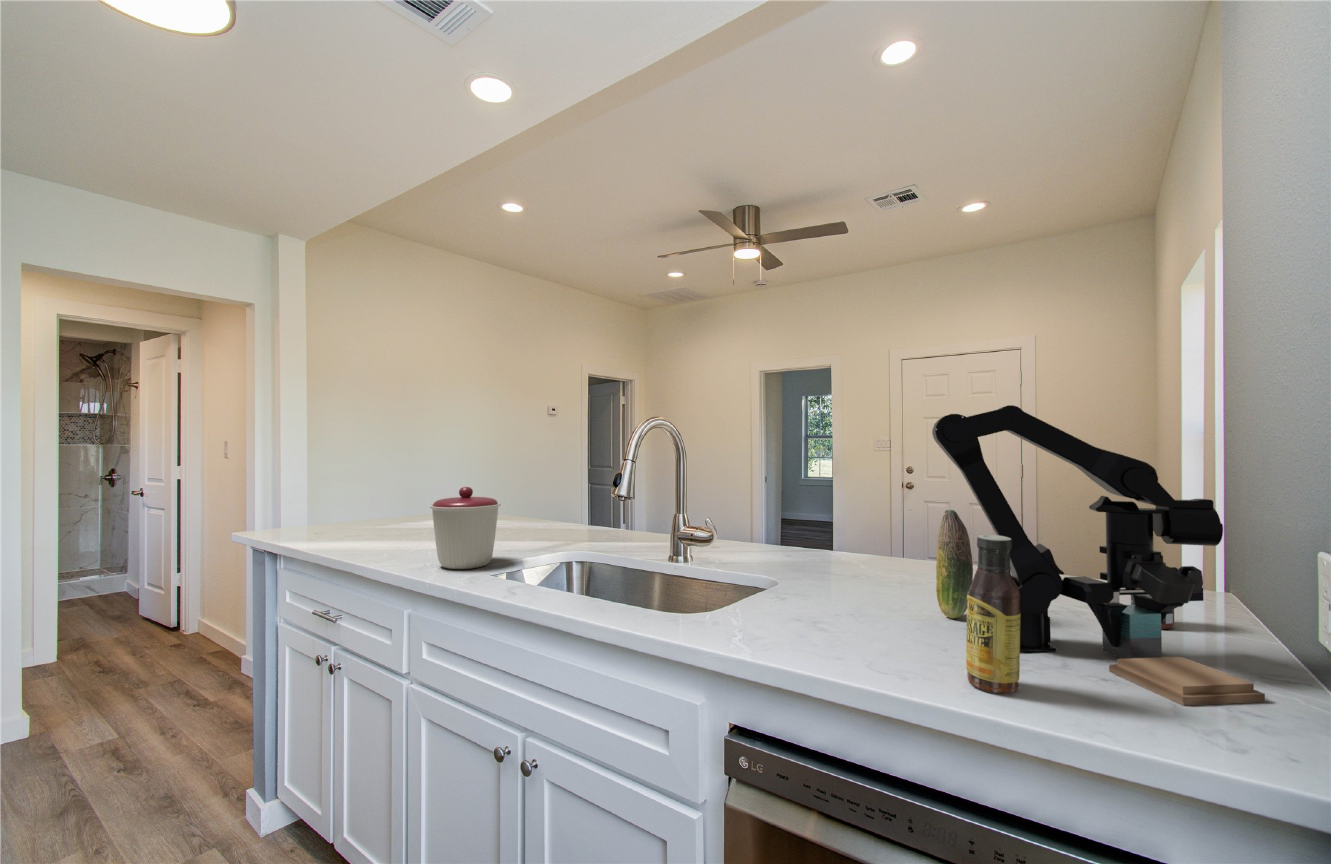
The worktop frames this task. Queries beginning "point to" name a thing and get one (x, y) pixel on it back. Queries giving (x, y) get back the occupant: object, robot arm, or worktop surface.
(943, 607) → the vegetable
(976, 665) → the sauce bottle
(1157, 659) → the walnut stand
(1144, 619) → the teal and grey block
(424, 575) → the worktop surface
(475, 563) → the canister
